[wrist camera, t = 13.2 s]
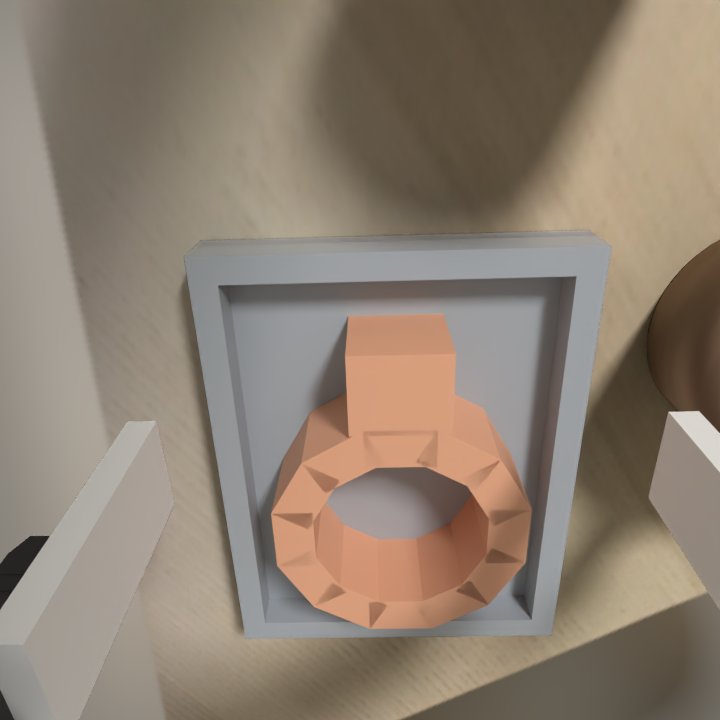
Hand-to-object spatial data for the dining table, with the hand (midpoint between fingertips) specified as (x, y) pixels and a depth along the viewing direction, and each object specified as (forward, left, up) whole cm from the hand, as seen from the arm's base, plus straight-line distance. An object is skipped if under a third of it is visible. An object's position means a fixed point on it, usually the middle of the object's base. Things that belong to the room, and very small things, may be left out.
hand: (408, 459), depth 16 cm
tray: (+5, 0, -8) cm, 10 cm away
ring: (+5, 0, -8) cm, 9 cm away
